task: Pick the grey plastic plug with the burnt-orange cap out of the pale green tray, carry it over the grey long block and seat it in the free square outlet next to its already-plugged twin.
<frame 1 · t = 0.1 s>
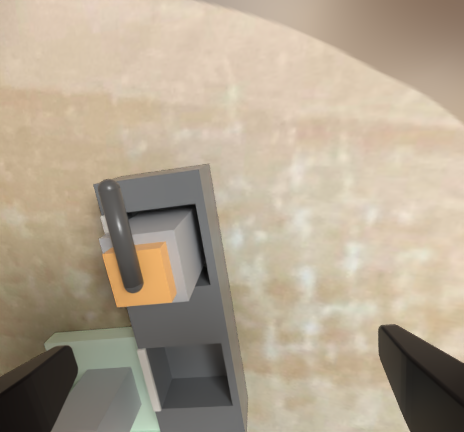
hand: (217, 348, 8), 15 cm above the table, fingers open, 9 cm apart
plug: (114, 387, 27), resting on tray
grey long block: (190, 297, 25), on the table
twin plug: (173, 235, 22), resting on grey long block
tray: (117, 382, 28), on the table
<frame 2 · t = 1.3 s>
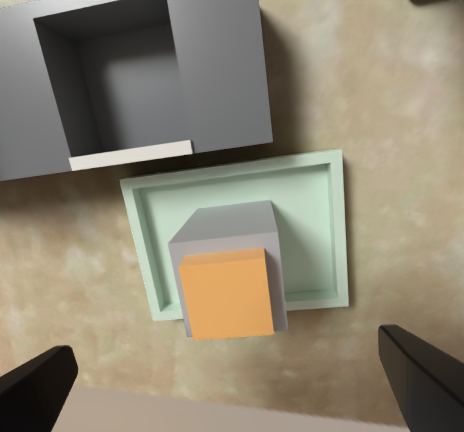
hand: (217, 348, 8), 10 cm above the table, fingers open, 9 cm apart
plug: (238, 238, 17), resting on tray
grey long block: (74, 107, 17), on the table
tray: (238, 236, 18), on the table
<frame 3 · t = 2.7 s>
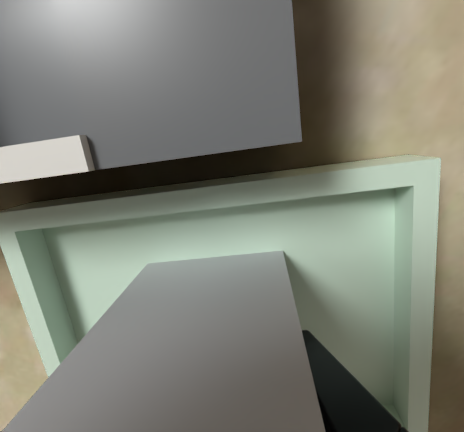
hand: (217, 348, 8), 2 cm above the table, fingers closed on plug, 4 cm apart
plug: (223, 317, 10), resting on tray, touching gripper
tray: (224, 308, 10), on the table
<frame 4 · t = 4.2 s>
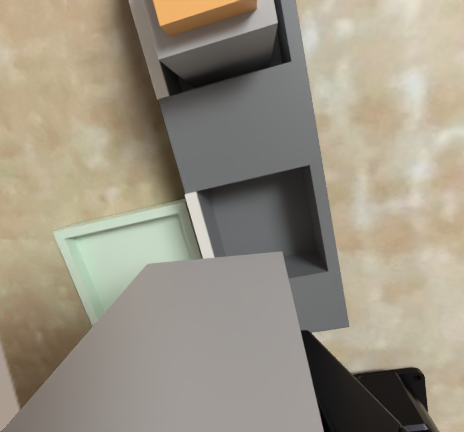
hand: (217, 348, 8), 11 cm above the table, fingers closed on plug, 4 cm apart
plug: (222, 317, 10), point 10 cm above the table, touching gripper
grey long block: (246, 144, 18), on the table
twin plug: (221, 33, 15), resting on grey long block
tray: (153, 289, 21), on the table
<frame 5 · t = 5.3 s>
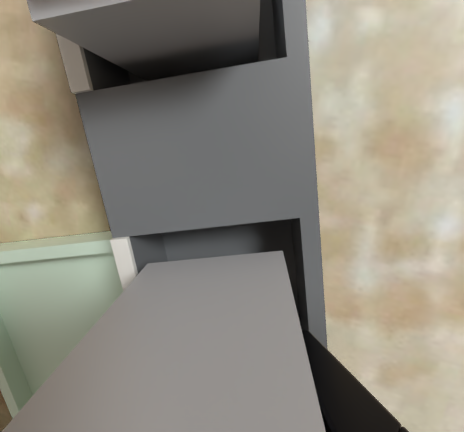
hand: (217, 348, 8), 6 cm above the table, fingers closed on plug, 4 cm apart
plug: (223, 317, 10), point 5 cm above the table, touching gripper
grey long block: (219, 167, 13), on the table
twin plug: (191, 6, 10), resting on grey long block
tray: (85, 338, 16), on the table
when the fingers open (4 cm above the table, at t = 6.0 s): plug drops 2 cm, resting on grey long block.
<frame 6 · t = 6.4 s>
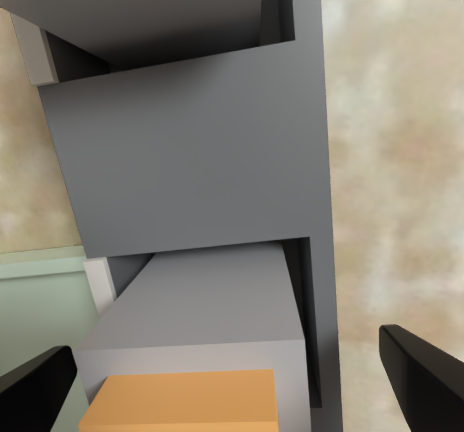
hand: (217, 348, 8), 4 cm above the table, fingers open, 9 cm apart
plug: (228, 287, 12), point 1 cm above the table, touching grey long block
grey long block: (214, 172, 11), on the table
tray: (67, 361, 15), on the table
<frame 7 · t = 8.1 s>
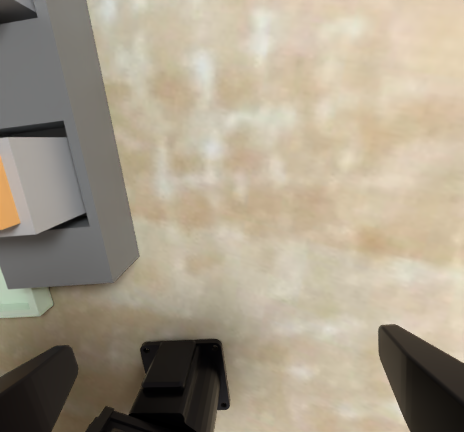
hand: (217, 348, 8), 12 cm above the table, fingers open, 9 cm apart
plug: (63, 175, 19), point 1 cm above the table, touching grey long block
grey long block: (55, 103, 19), on the table
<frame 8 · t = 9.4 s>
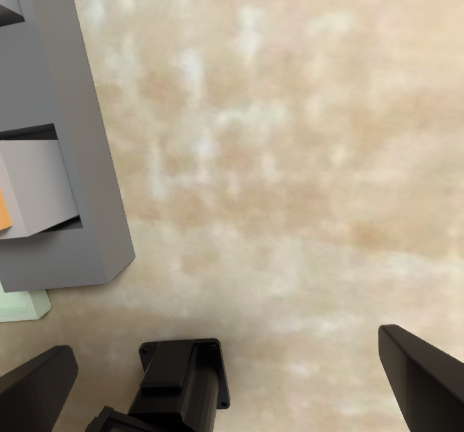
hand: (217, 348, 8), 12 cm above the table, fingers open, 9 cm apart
plug: (57, 178, 19), point 1 cm above the table, touching grey long block
grey long block: (47, 107, 19), on the table
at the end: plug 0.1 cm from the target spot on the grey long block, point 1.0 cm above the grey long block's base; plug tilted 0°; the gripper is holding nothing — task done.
